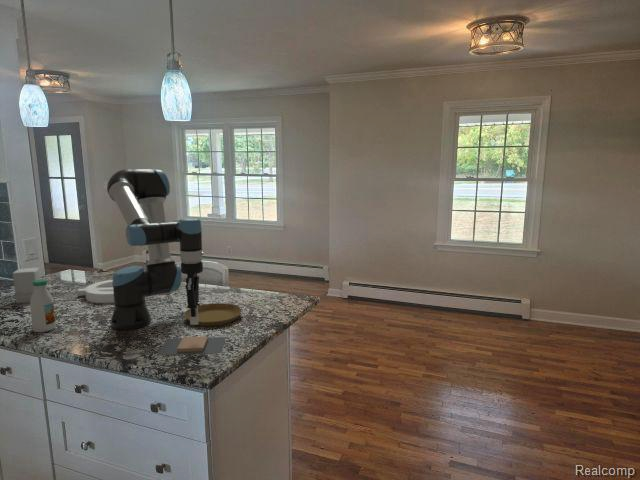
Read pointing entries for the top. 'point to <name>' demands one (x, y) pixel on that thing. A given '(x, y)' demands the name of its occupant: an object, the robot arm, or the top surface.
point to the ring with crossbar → (99, 292)
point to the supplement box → (25, 283)
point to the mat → (211, 347)
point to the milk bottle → (42, 308)
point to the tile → (192, 344)
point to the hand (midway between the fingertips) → (194, 323)
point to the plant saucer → (216, 314)
